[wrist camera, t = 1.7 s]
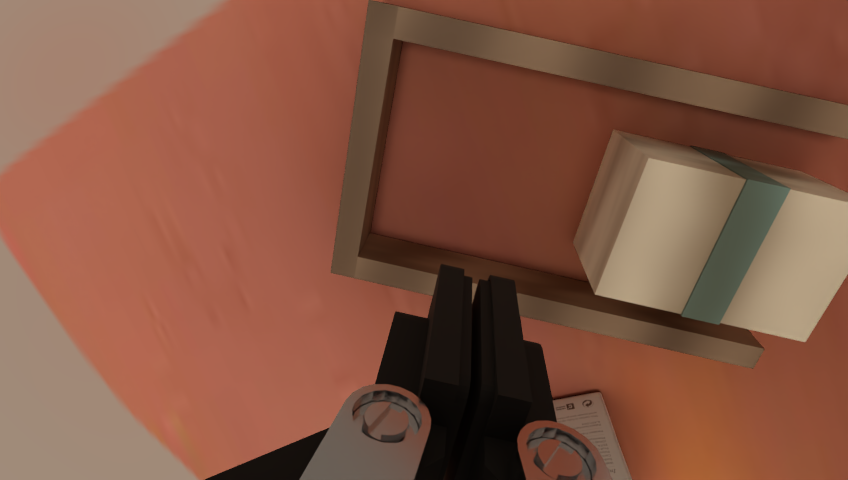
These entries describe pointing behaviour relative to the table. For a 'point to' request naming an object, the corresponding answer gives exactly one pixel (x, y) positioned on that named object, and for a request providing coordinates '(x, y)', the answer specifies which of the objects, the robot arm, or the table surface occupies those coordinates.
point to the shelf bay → (534, 289)
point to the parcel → (713, 236)
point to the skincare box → (594, 428)
